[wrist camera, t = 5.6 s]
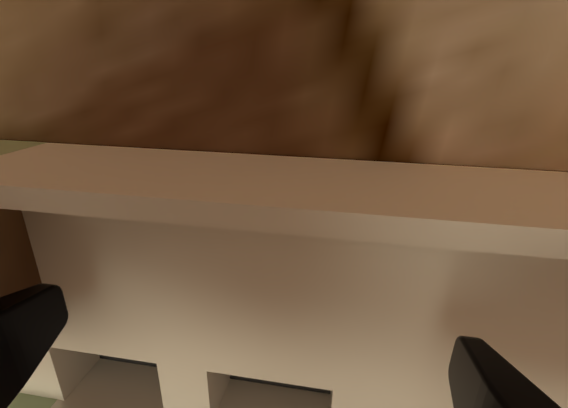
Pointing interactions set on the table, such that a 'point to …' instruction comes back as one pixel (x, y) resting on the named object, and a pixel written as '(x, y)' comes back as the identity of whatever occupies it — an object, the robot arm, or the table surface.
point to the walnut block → (16, 254)
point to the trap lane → (285, 276)
